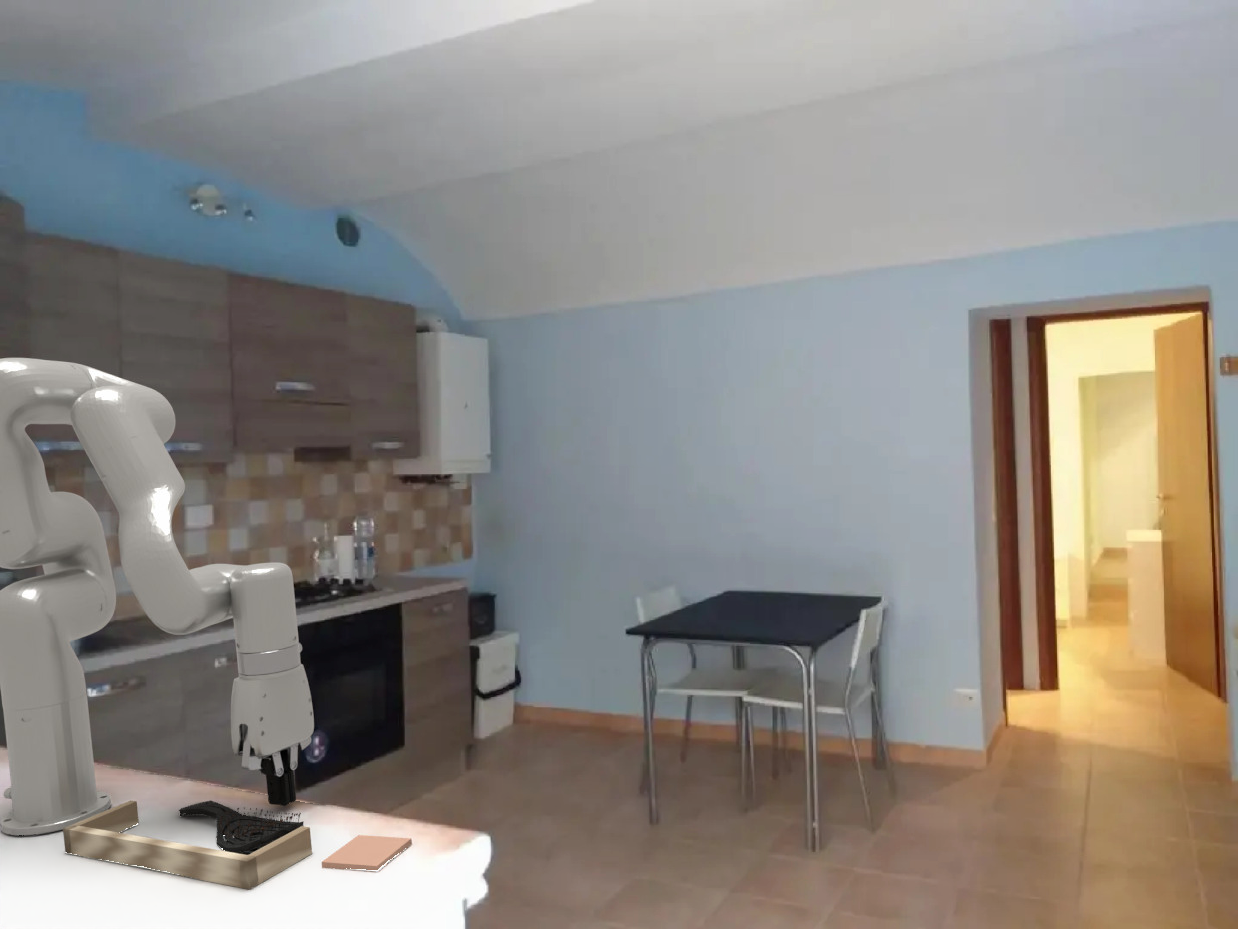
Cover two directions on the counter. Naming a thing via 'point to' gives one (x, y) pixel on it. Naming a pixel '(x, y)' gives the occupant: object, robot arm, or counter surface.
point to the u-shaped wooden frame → (181, 850)
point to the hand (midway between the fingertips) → (282, 802)
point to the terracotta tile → (366, 852)
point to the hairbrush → (242, 826)
